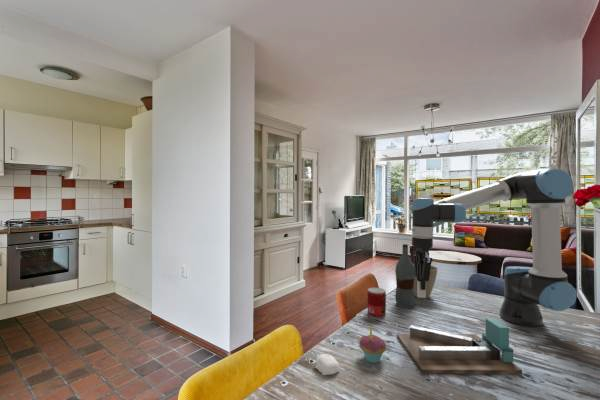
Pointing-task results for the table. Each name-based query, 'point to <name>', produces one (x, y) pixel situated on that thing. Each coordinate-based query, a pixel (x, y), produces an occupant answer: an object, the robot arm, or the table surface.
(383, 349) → the cupcake
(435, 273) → the plant pot
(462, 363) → the board
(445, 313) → the table surface
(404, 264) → the bottle
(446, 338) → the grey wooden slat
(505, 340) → the teal upright slab
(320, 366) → the garlic
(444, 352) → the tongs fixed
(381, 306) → the canned food
